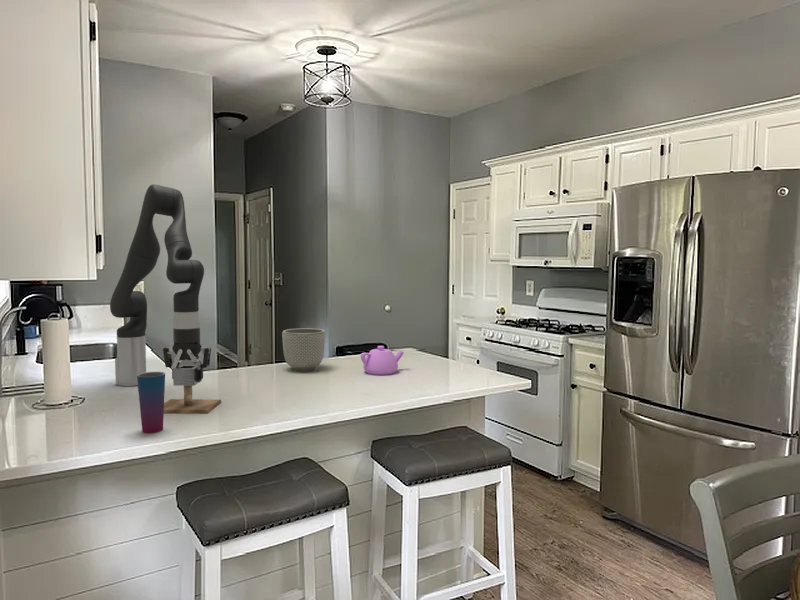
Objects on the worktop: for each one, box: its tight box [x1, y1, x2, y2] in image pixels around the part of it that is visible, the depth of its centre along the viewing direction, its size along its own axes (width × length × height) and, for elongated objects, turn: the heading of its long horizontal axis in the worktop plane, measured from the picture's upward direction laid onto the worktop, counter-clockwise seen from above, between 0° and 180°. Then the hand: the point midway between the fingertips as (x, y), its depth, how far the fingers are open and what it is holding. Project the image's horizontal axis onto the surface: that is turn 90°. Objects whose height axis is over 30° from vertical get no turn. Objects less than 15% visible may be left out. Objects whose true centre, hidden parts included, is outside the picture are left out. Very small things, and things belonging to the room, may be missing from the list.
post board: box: [164, 386, 222, 414], centre depth 169 cm, size 16×12×7 cm
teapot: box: [360, 345, 404, 376], centre depth 224 cm, size 14×20×11 cm
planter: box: [281, 327, 326, 373], centre depth 227 cm, size 17×17×16 cm
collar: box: [172, 364, 203, 387], centre depth 169 cm, size 6×6×5 cm
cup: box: [137, 371, 166, 434], centre depth 147 cm, size 7×7×15 cm
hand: (187, 381), depth 169 cm, fingers closed on collar, 6 cm apart
